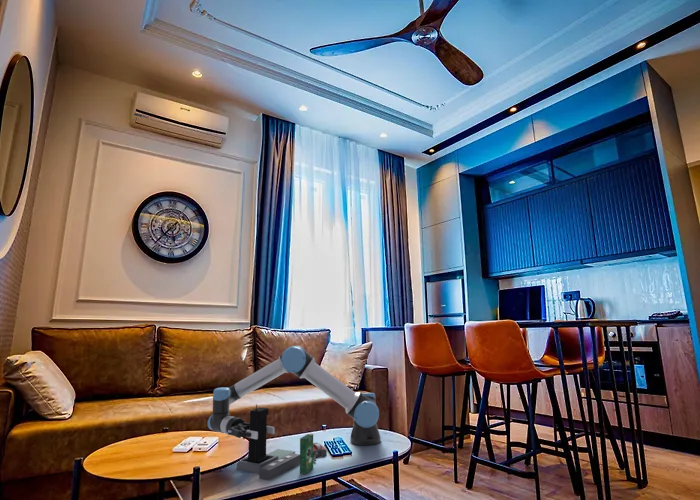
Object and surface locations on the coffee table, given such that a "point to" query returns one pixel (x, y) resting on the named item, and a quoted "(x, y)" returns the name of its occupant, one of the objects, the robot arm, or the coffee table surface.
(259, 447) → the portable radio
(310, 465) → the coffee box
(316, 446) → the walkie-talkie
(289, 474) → the coffee table surface
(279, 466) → the charging dock
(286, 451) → the rubber mat
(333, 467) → the coffee table surface
